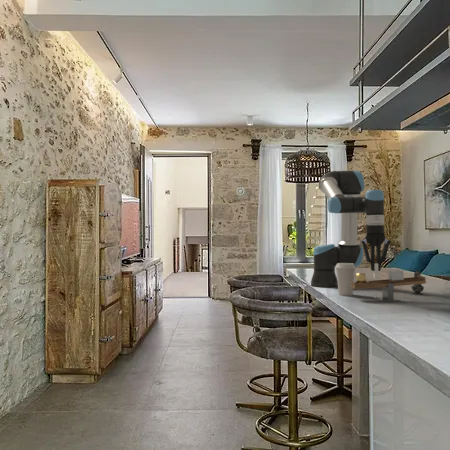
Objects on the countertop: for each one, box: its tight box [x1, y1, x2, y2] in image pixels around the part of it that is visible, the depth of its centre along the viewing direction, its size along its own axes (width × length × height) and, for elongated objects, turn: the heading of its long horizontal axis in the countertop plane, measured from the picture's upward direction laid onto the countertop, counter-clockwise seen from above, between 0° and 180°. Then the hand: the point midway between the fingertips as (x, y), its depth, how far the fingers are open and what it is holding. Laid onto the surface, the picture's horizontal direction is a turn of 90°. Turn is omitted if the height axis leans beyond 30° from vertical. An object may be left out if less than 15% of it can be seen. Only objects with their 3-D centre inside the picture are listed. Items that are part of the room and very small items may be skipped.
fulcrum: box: [375, 283, 401, 303], centre depth 180 cm, size 9×8×8 cm
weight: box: [355, 272, 367, 284], centre depth 182 cm, size 4×4×5 cm
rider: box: [387, 269, 405, 281], centre depth 180 cm, size 5×5×5 cm
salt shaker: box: [410, 269, 425, 296], centre depth 199 cm, size 6×6×12 cm
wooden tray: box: [351, 275, 427, 290], centre depth 180 cm, size 7×30×3 cm, turn 85°
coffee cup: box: [335, 263, 357, 297], centre depth 198 cm, size 10×10×15 cm
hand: (375, 278), depth 181 cm, fingers closed
